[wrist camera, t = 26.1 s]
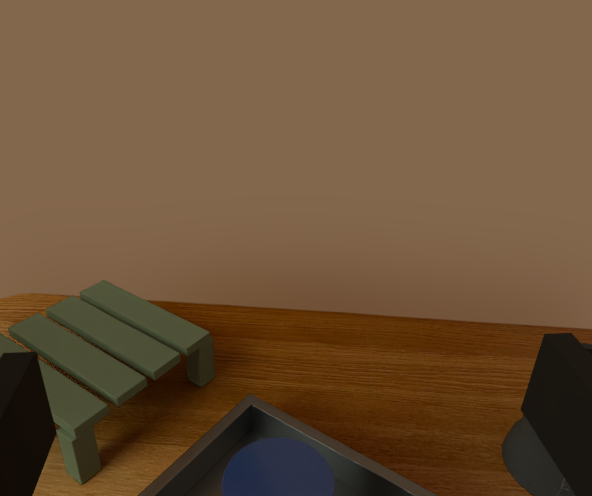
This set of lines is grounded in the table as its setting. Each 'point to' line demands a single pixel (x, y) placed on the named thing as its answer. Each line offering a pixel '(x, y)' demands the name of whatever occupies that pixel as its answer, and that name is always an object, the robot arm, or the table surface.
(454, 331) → the table surface
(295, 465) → the navy blue cylinder
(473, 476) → the table surface
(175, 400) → the table surface
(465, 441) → the table surface
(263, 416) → the tray
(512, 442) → the mug
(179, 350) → the rack
